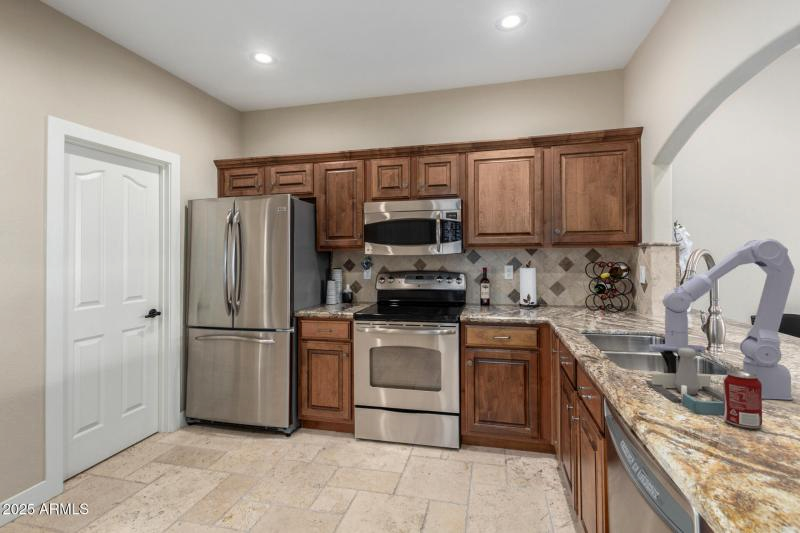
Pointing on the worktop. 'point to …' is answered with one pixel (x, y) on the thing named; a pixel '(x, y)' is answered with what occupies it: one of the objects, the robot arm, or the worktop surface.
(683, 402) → the frame
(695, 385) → the salt shaker
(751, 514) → the worktop surface
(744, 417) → the soda can
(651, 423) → the worktop surface
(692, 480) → the worktop surface
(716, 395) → the rails
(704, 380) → the pusher bar
